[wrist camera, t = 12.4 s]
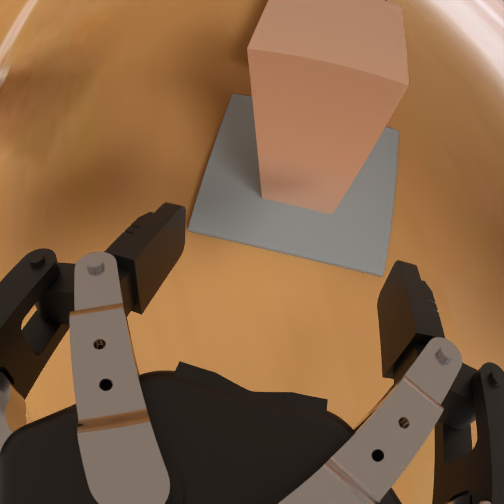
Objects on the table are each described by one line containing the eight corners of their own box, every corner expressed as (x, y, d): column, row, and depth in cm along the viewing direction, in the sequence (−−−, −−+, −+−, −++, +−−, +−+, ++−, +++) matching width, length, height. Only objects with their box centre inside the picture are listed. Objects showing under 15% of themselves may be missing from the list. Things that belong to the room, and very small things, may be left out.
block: (342, 153, 22) (401, 5, 8) (332, 214, 21) (408, 85, 7) (277, 138, 23) (278, -22, 9) (262, 198, 22) (247, 48, 8)
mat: (396, 134, 23) (398, 130, 22) (380, 276, 21) (383, 275, 20) (233, 97, 24) (232, 93, 24) (189, 231, 22) (187, 229, 22)
